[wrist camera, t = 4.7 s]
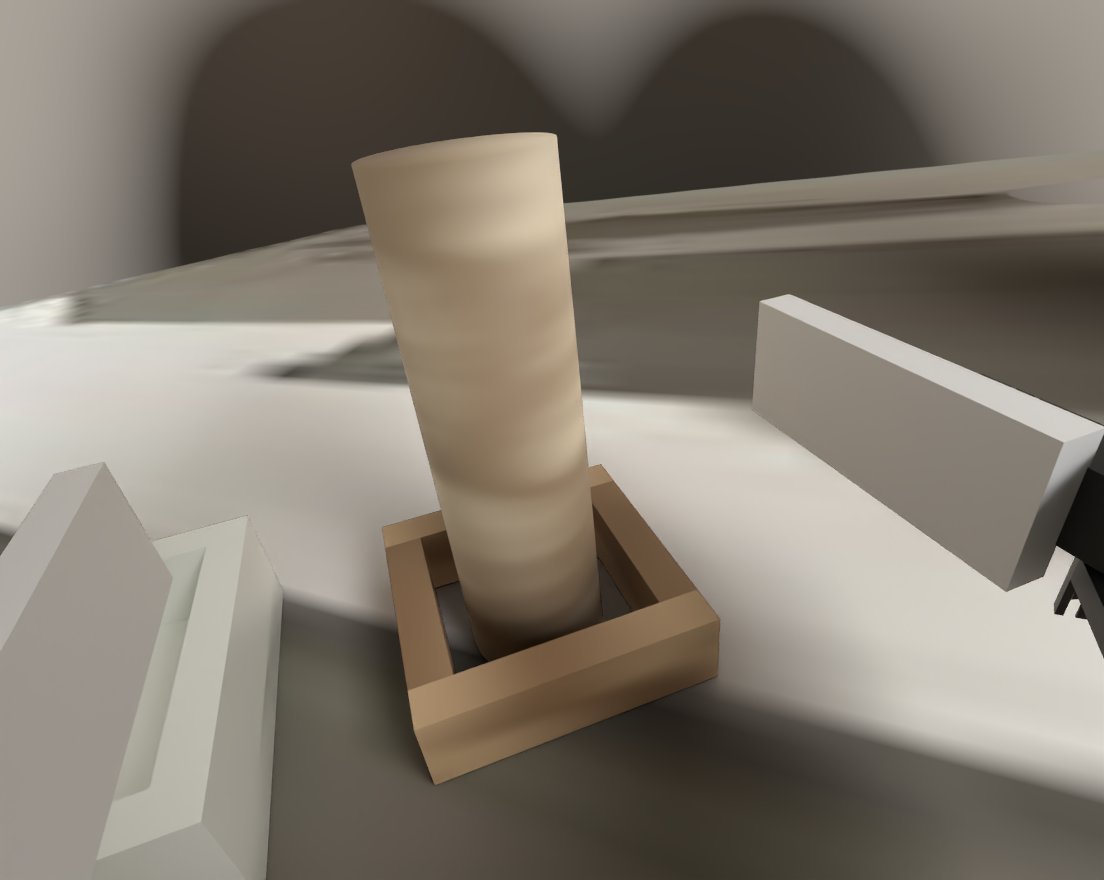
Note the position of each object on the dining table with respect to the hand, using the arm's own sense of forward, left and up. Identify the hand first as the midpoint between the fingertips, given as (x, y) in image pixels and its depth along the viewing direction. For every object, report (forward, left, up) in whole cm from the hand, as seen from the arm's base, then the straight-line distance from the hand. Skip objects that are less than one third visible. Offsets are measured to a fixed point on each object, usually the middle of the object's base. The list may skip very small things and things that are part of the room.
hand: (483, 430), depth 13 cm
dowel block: (-1, -1, -7) cm, 7 cm away
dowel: (-1, -1, -7) cm, 7 cm away
